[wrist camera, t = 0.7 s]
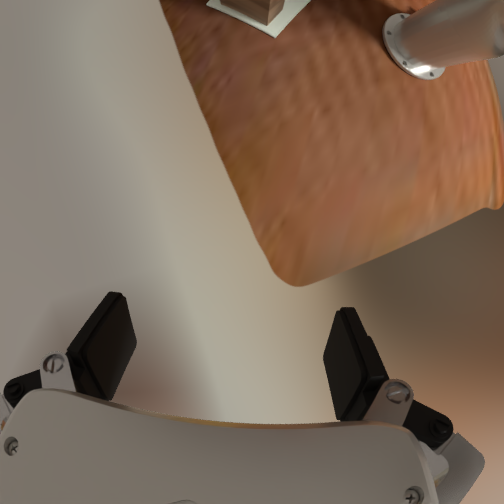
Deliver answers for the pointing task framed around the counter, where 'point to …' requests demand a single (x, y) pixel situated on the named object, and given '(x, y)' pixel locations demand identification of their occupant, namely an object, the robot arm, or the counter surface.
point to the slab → (256, 8)
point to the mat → (291, 8)
